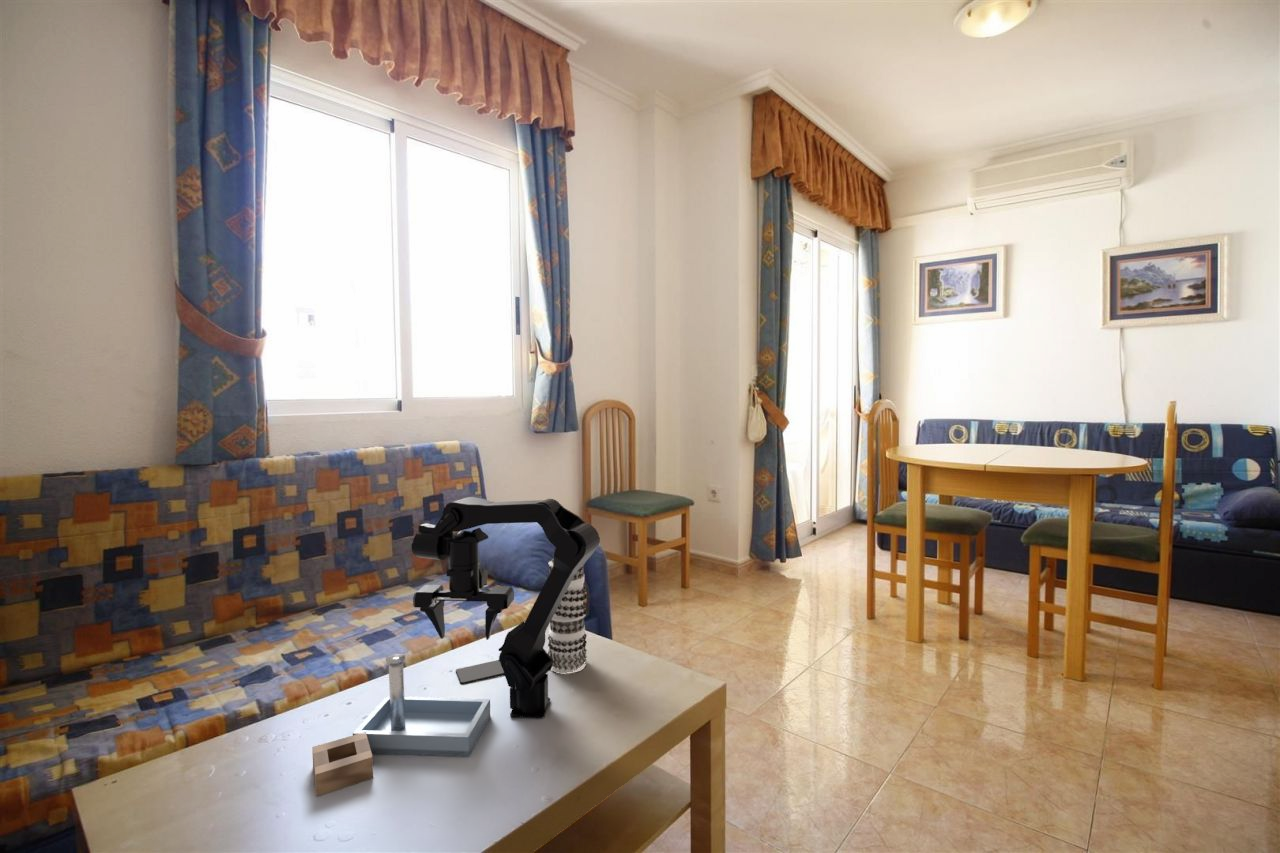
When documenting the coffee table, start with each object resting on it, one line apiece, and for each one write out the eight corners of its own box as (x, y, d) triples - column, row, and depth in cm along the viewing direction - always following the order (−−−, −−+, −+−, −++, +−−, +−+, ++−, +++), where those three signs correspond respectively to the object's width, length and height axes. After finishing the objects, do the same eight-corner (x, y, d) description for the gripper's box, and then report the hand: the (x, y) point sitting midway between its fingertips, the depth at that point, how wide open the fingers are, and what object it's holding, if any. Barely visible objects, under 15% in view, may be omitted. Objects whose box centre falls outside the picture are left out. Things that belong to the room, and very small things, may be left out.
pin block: (366, 751, 101) (365, 731, 100) (373, 777, 94) (372, 756, 94) (313, 767, 96) (312, 747, 96) (316, 796, 90) (315, 774, 89)
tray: (490, 716, 111) (490, 698, 111) (468, 756, 99) (468, 736, 99) (387, 713, 112) (386, 696, 112) (353, 753, 100) (352, 733, 100)
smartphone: (455, 669, 129) (522, 654, 136) (455, 673, 129) (522, 658, 136) (460, 683, 123) (530, 666, 129) (460, 687, 123) (530, 670, 130)
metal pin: (411, 723, 107) (409, 654, 106) (400, 733, 104) (397, 662, 103) (396, 721, 108) (393, 652, 107) (384, 731, 105) (382, 660, 104)
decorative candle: (544, 658, 135) (543, 551, 133) (584, 653, 137) (584, 548, 135) (548, 677, 126) (546, 563, 124) (591, 672, 128) (590, 560, 126)
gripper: (520, 551, 124) (521, 623, 125) (433, 549, 125) (435, 621, 126) (506, 567, 113) (507, 646, 114) (410, 565, 114) (412, 644, 115)
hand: (465, 638), depth 118 cm, fingers open, 9 cm apart
